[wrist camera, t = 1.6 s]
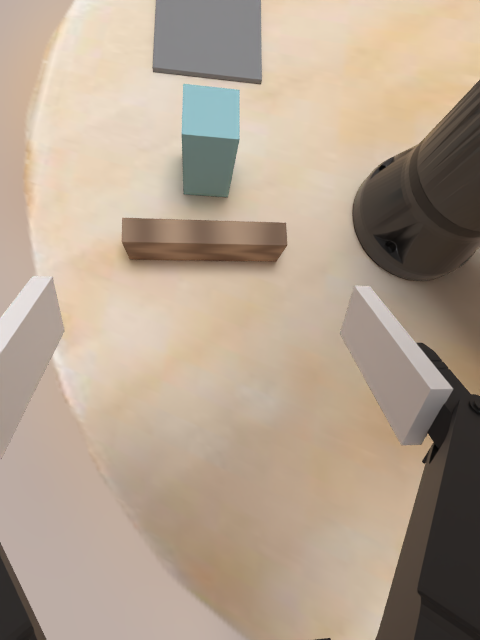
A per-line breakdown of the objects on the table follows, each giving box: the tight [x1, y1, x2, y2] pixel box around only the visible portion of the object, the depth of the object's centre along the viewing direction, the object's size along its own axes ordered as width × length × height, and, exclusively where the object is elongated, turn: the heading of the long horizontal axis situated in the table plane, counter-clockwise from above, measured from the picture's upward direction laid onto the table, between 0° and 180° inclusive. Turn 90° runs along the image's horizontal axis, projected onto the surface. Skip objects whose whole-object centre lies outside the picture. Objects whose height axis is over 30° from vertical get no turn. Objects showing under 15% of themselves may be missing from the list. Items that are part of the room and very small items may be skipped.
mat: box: [153, 0, 262, 84], centre depth 45 cm, size 13×18×1 cm
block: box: [182, 84, 239, 197], centre depth 37 cm, size 5×5×10 cm
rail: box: [122, 218, 287, 262], centre depth 38 cm, size 16×2×5 cm, turn 92°
